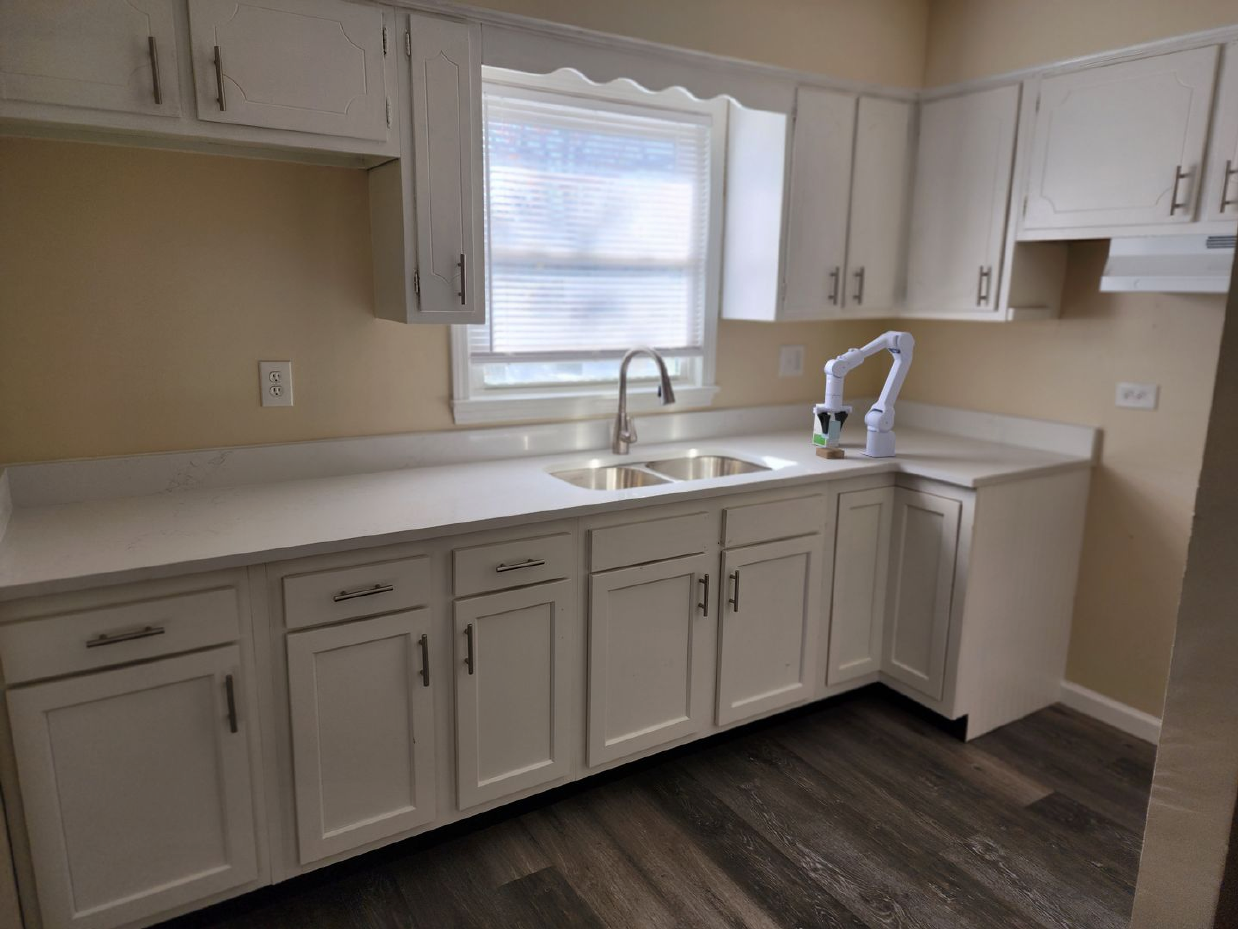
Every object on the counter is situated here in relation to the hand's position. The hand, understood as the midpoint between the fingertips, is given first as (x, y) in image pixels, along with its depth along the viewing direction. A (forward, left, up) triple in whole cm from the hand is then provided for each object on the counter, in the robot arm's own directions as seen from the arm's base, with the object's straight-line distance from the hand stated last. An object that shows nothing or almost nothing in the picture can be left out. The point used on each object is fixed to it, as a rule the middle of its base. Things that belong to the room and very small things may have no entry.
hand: (831, 433), depth 285 cm
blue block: (0, 0, -2) cm, 2 cm away
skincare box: (-12, -19, -9) cm, 24 cm away
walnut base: (-1, 0, -9) cm, 9 cm away
